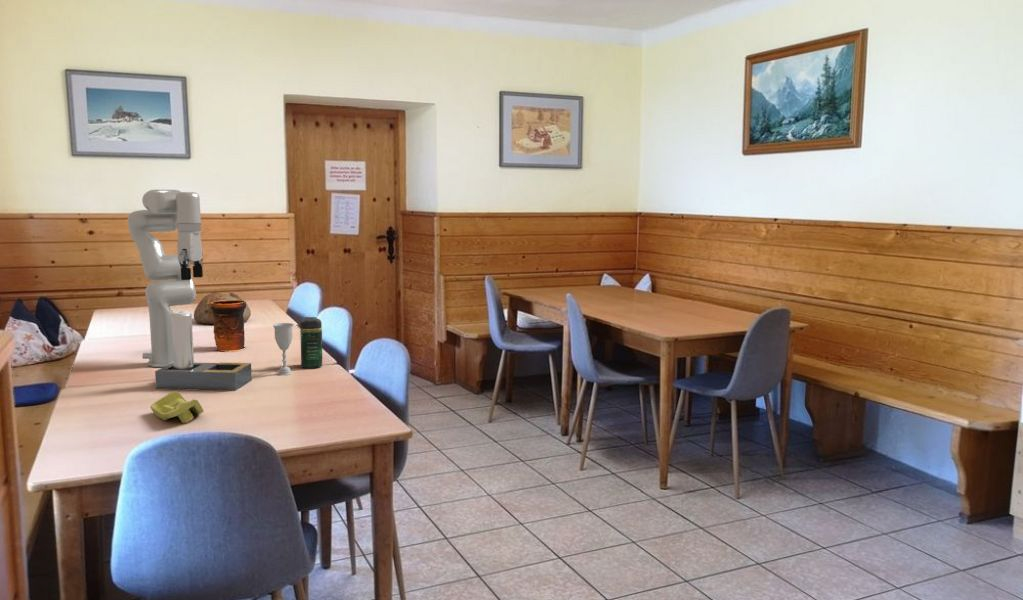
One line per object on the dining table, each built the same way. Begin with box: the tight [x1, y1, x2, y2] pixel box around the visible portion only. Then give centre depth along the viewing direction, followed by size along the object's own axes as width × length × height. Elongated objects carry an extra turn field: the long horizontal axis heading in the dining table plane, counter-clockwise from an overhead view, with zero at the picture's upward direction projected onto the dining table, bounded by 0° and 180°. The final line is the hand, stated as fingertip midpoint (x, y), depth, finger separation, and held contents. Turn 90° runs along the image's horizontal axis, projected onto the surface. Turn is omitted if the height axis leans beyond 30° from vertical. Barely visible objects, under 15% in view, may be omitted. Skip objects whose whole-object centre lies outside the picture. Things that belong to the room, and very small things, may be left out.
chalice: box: [272, 322, 294, 376], centre depth 283 cm, size 7×7×18 cm
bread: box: [193, 291, 252, 325], centre depth 394 cm, size 26×23×15 cm
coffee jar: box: [299, 316, 323, 369], centre depth 295 cm, size 10×8×19 cm
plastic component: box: [149, 390, 204, 424], centre depth 228 cm, size 20×7×10 cm
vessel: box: [210, 300, 247, 353], centre depth 327 cm, size 14×14×20 cm
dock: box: [154, 361, 253, 391], centre depth 267 cm, size 27×14×6 cm, turn 87°
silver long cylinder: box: [171, 310, 195, 370], centre depth 266 cm, size 6×6×25 cm
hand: (192, 278), depth 270 cm, fingers open, 9 cm apart
